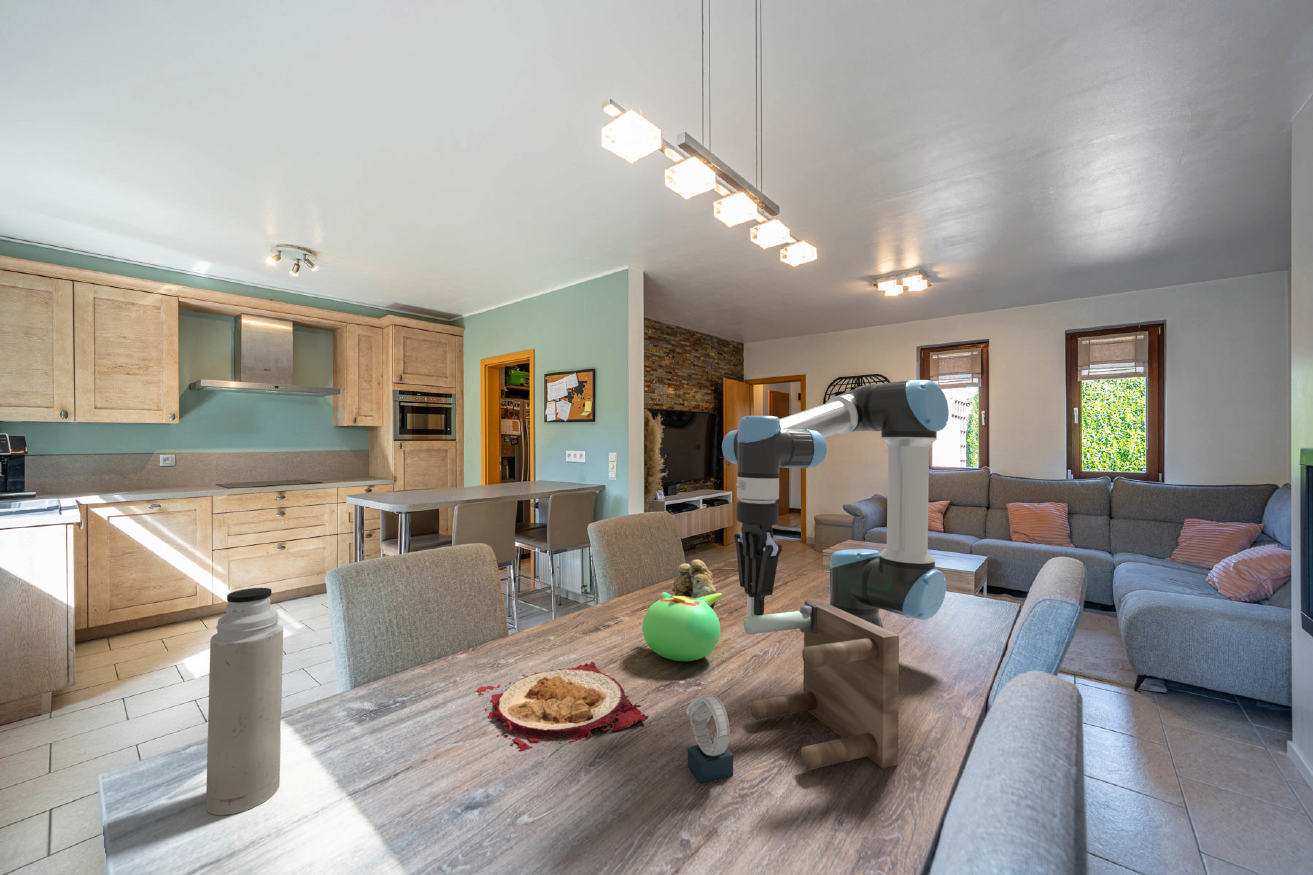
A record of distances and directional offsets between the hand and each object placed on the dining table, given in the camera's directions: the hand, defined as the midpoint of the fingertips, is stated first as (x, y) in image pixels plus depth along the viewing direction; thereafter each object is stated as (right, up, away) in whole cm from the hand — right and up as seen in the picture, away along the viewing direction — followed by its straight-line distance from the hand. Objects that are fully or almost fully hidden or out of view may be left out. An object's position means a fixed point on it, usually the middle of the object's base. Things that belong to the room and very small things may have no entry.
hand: (754, 630), depth 96 cm
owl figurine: (-7, -16, +52) cm, 55 cm away
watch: (-10, -15, -16) cm, 25 cm away
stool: (+9, -16, -7) cm, 19 cm away
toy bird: (-12, -16, +26) cm, 33 cm away
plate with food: (-36, -16, +3) cm, 40 cm away
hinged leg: (+4, 0, -1) cm, 4 cm away
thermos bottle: (-74, -14, -23) cm, 79 cm away
